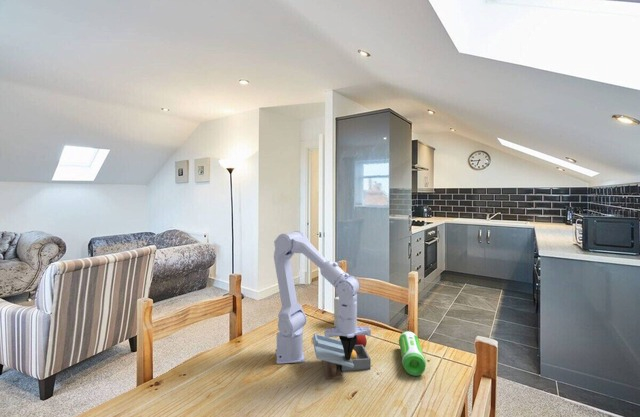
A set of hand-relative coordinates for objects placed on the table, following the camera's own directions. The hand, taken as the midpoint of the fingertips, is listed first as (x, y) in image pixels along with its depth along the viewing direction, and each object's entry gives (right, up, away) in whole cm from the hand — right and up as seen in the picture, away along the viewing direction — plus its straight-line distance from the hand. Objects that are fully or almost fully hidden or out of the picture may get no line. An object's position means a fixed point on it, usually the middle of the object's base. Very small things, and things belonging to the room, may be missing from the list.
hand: (347, 358), depth 95 cm
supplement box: (+2, -4, +35) cm, 36 cm away
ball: (+2, -3, +7) cm, 8 cm away
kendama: (+5, -5, +22) cm, 23 cm away
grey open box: (+3, -5, +7) cm, 9 cm away
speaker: (+23, -6, +8) cm, 24 cm away
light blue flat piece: (-5, +1, +3) cm, 6 cm away
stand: (-5, -5, +3) cm, 8 cm away
